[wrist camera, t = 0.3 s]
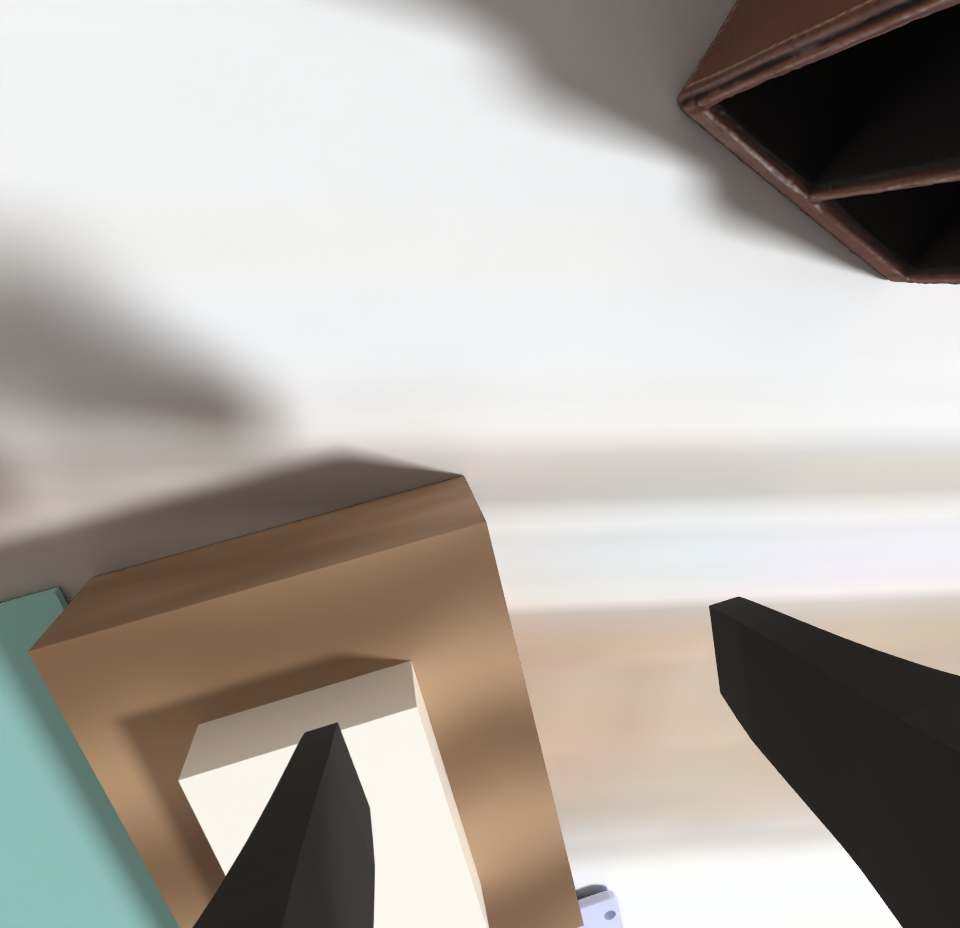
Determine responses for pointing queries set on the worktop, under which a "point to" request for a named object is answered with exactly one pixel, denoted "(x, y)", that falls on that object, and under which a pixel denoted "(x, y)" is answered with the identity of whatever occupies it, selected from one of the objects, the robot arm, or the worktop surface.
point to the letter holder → (847, 120)
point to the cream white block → (384, 778)
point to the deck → (315, 679)
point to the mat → (58, 804)
